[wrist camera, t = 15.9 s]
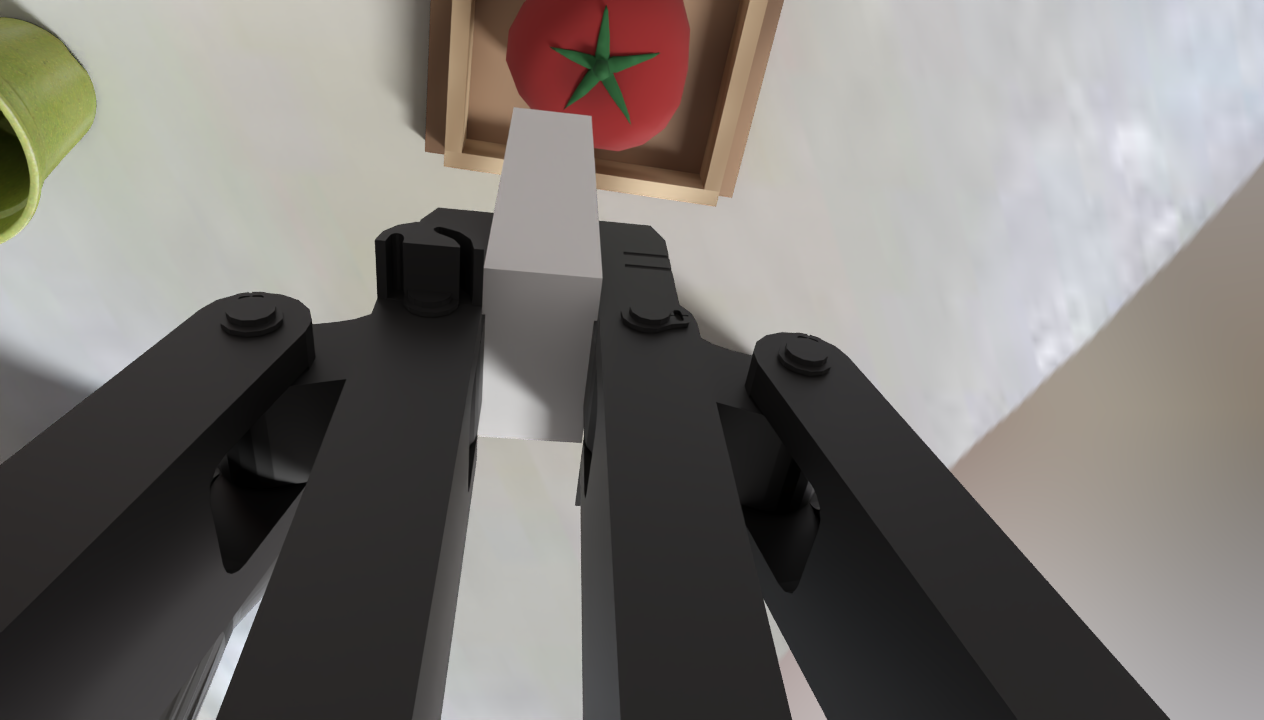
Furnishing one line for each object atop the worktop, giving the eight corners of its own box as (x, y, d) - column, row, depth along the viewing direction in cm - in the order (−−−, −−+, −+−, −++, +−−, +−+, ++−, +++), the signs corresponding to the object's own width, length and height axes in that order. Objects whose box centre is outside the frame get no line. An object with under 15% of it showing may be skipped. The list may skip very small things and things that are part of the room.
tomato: (484, 43, 38) (467, 88, 32) (596, -102, 35) (599, -82, 29) (612, 151, 42) (618, 210, 36) (725, 27, 38) (751, 70, 33)
